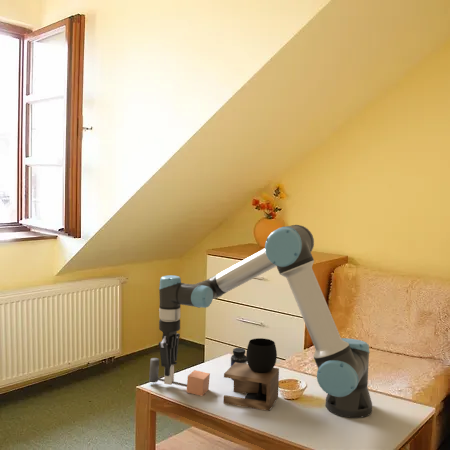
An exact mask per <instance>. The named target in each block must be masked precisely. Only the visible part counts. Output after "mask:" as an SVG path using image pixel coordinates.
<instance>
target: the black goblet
mask: <svg viewBox="0 0 450 450" xmlns="http://www.w3.org/2000/svg"><path fill="white" fill-rule="evenodd" d="M245 354H246V355H245V356H246V358H247V364H248V365H249V367H250V369H251V370H252V371H254V372H256V373H268V372H270V371H271V370H272V369H273V368H275V366H276V363H277V359H278V353H277V347H276V342H275V341H274V340H272V339H268V338H264V337H262V338H259V337H258V338H252V339H250V340H249V342H248V345H247V348H246V352H245ZM244 398H246V399H252V400H259V401H265V402H266V395H265V394H262V383H259V391H258V393H248V394H247V393H245V396H244Z"/></svg>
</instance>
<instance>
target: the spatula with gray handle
mask: <svg viewBox="0 0 450 450" xmlns="http://www.w3.org/2000/svg"><path fill="white" fill-rule="evenodd" d="M159 368H160V358H157V357H151V358H150V362H149V375H148V376H149V378H148V382H150V383H157V382H158V381H160V382H164V378H161V377H159V371H160V369H159ZM210 375H211V373H209V372H204V371H200V370H195V369H194V370H193V371H191V372H190V374H188V375H187V383H183V382H177V381H175V380H174V381H172V384H173V385H177V386H182V387H186V393H188V394H192V395H197V396H201V397H203V396H204V395H205V394H206V393H207V392H208V391H209V387H210ZM172 384H171V385H172Z"/></svg>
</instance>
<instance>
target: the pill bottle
mask: <svg viewBox="0 0 450 450" xmlns="http://www.w3.org/2000/svg"><path fill="white" fill-rule="evenodd" d="M245 354H246V349H245V348H242V347H235V348H233V349H232V355H231V356H230V367H231V366H232V365H233V364H234V363H235V362H236V363H244V364H248V363H247V358H246V355H245ZM230 379H231V380H233V381H234V379H232V378H230Z"/></svg>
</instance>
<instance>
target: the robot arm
mask: <svg viewBox="0 0 450 450" xmlns="http://www.w3.org/2000/svg"><path fill="white" fill-rule="evenodd" d="M314 245H315V239H314V236H313V234H312V232H311V231H310V230H309V229H308V227H306V226H304V225H300V224H293V225H288V226H282V227H278V228H277V229H274V230H273V231H272V232H270V234H269V235H268V236H267V238H266V240H265V244H264V248H262V249H260V250H259V251H257V252H255V253H253V254H252V255H250V256H248V257H246V258H243V260H240V261H239V262H236V264H235V263H234V264H233V265H231V266H230V267H228V268H226V269H224V270H222V271H221V272H219V273H217V274H215V275H213V276H212V277H210V278H208V279H205V280H202V281H199V282H197V283H196V282H195V283H193V284H192V283H184V282H182V278H181V277H180V276H178V275H171V274H170V275H163V276H161V277H160V280H159V288H158V290H159V309H158V312H159V313H158V314H159V316H158V318H159V320H158V330H159V331H161V332H162V336H161V339H162V340H161V341H159V342H158V347H159V354H160V364H161V365H160V366H161V367H163V368H164V374H163V375H164V376H163V377H164V378H163V379H164V381H163V382H164V383H163V384H165V385H172V381H174V382H175V365H176V366H177V364H178V362H177V360H178V353H179V342H180V336H181V334H180V333H178V332H179V331H180V329H181V320H180V319H181V305H182V306H187V307H196V308H205V309H206V308H209V307H210V305H211V304H212V302H213V300H215V299H218V298H220V297H222V296H223V295H225V294H226V293H228V292H229V291H232V290H234V289H235V288H237V287H240V286H243V285H244V284H245V283H248V282H249V281H251V280H254V279H255V278H257V277H259V276H261V275H262V274H264V273H267V272H269V271H271V270H272V269H274V268H277V271H278V273H279V276H282V277H284V278H286V280H287V282H288V285H289V288H290V290H291V292H292V295H293V298H294V300H295V302H296V305H297V307H298V310H299V312H300V315H301V318H302V319H303V322H304V324H305V327H306V329H307V332H308V334H309V336H310V339H311V342H312V344H313V346H314V349H315V350H314V353H313V359H314V362H315V363H316V367H317V371H316V381H317V383H318V385H319V387H320V388H321V389H322V391H324V392H325V393H326V397H325V408H326V409H327V410H328V411H329V412H330V413H332V414H335V415H337V416H341V417H345V418H351V419H352V418H354V419H355V418H365V417H367V416H369V415H371V414H372V412H373V402H372V398H371V395H370V391H369V387H368V384H369V383H368V382H369V381H368V380H369V366H370V365H369V360H370V353H371V351H370V345H369V344H368V342H366V341H364V340H361V339H356V338H346V337H345V338H344V337H341V335H340V333H339V330H338V326H337V324H336V323H335V320H334V318H333V316H332V313H331V311H330V309H329V306H328V303H327V301H326V298H325V295H324V293H323V291H322V289H321V286H320V283H319V281H318V279H317V277H316V274H315V271H314V270H313V264H314V263H315V260H314V257H313V254H312V251H313V249H314V247H315V246H314Z"/></svg>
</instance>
